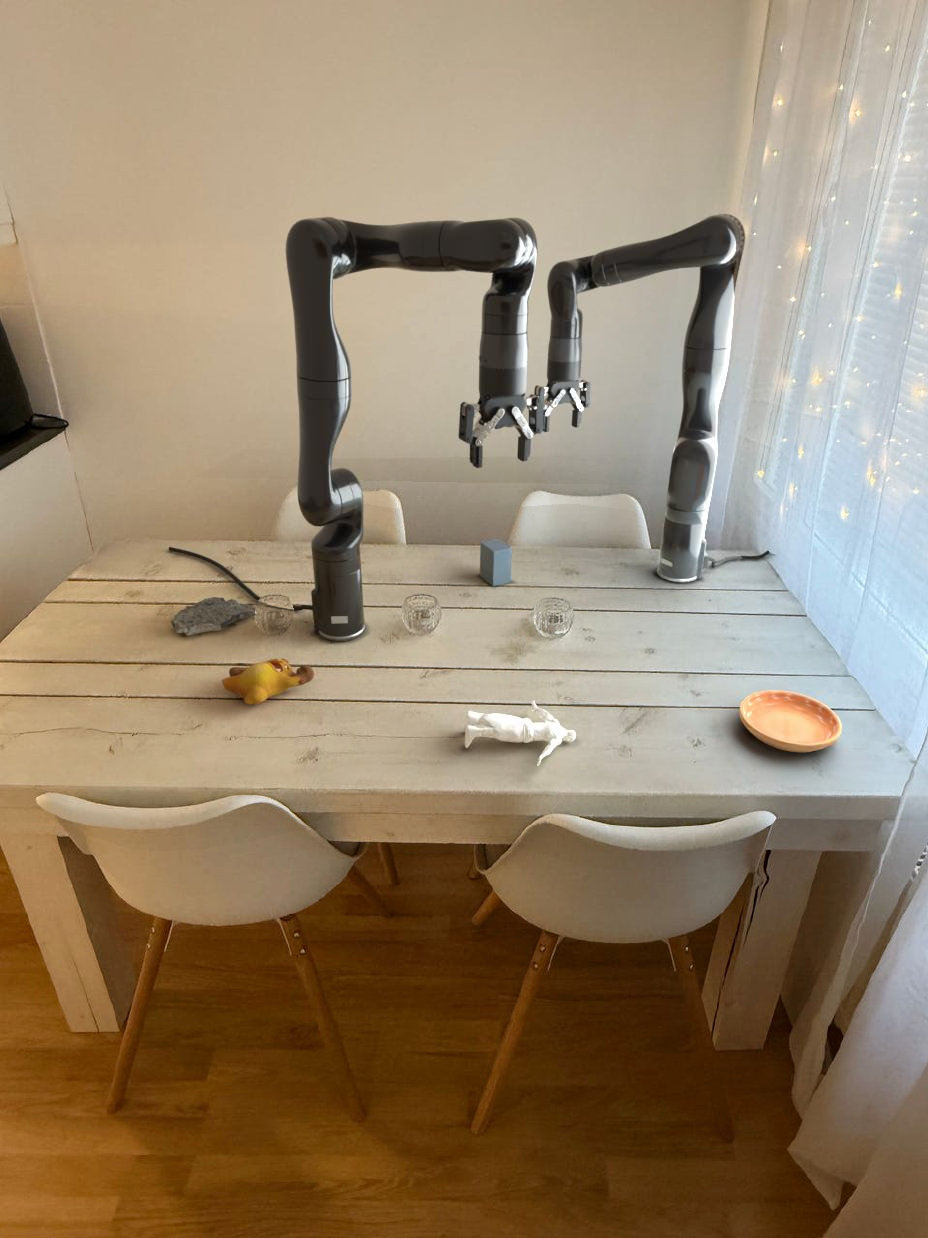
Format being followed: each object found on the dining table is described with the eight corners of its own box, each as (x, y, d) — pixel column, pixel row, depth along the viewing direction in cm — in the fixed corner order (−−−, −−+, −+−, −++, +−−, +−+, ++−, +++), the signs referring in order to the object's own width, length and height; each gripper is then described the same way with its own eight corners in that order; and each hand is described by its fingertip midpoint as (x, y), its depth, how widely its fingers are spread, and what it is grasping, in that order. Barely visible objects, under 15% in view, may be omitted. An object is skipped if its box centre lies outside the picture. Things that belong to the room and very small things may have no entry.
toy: (214, 669, 145) (294, 645, 152) (223, 703, 146) (302, 678, 153) (228, 678, 135) (313, 652, 142) (238, 714, 136) (322, 687, 143)
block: (492, 586, 184) (493, 551, 180) (479, 575, 189) (480, 541, 185) (510, 582, 186) (512, 548, 182) (497, 571, 191) (498, 538, 187)
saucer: (730, 699, 144) (733, 685, 143) (824, 707, 142) (828, 693, 141) (745, 755, 130) (748, 740, 129) (849, 764, 128) (854, 749, 127)
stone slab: (156, 626, 166) (154, 613, 164) (223, 596, 177) (221, 584, 176) (194, 646, 159) (192, 633, 158) (261, 614, 171) (259, 601, 169)
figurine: (463, 772, 126) (578, 784, 127) (467, 744, 123) (584, 757, 124) (464, 709, 141) (566, 721, 142) (468, 684, 139) (572, 696, 139)
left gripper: (474, 370, 120) (472, 476, 128) (555, 362, 126) (549, 464, 134) (451, 361, 126) (451, 462, 134) (530, 353, 132) (525, 451, 140)
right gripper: (547, 362, 176) (543, 436, 184) (600, 357, 182) (594, 428, 190) (528, 357, 182) (525, 428, 190) (580, 351, 188) (576, 421, 196)
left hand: (500, 463), depth 134 cm, fingers open, 8 cm apart
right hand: (560, 428), depth 190 cm, fingers open, 8 cm apart
